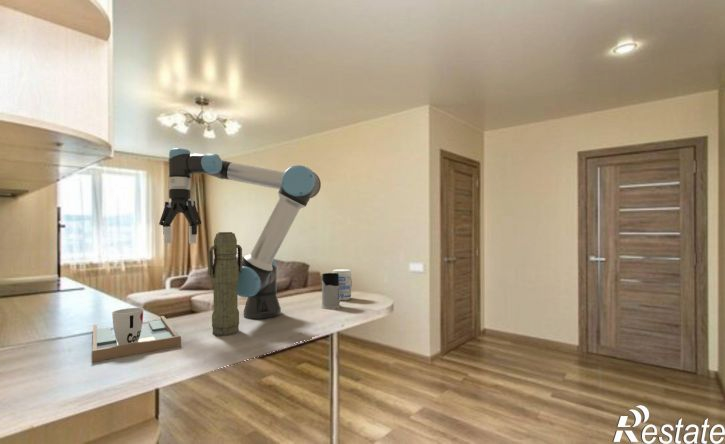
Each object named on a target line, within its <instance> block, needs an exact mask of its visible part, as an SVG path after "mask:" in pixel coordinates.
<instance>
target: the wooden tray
mask: <svg viewBox="0 0 725 444" xmlns="http://www.w3.org/2000/svg"><path fill="white" fill-rule="evenodd" d="M92 326H93V327H92V349H91V350H92V351H91V352H92V354H91V357H92V358H91V359H92V361H91V362H92V363H95V362H101V361H104V360H111V359H116V358H122V357H128V356H132V355H133V356H134V355H140V354H144V353H150V352H154V351H160V350H167V349H172V348H179V347H181V345H182V341H181V340H182V339H181V338H182V336H181V335H179V333H177V331H176V330H175V328H174V327H173V326H172V324H171V323H170V322H169V321H168V319H167V318H166V317H165V316H164V315H160V319H159V320H153V321H148V326H149V328H150V329H146V330H141V334H140V337H139V340H138V342H137V343H132V344H126V345H118V342H117V340H116V337H115V334H112V330H111V329H112V328H111V326H109V327H108V326H107V327H103V328H97V326H98V325H97V324H94V325H92Z"/></svg>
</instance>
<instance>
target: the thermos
mask: <svg viewBox="0 0 725 444" xmlns="http://www.w3.org/2000/svg"><path fill="white" fill-rule="evenodd" d="M237 242H238V240H237V237H236V234H235V232H232V231H220V232H219V231H218V233H215V236H214V239H213V245H212V246H210V247H209V248H208V249H207V275H208V276H209V277H211V283H212V285H213V310H212V314H211V328H212V332H211V333H212V335H213V336H216V337H226V336H227V337H228V336H233V335H236V334H237V333H239V332H240V329H239V325H240V311H239V308H238V295H237V284H238V281H239V275H240V274H241V273H242V261H243V248H242V246H241V244H238V243H237ZM213 256H214V257H213Z"/></svg>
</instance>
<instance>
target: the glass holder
mask: <svg viewBox="0 0 725 444" xmlns="http://www.w3.org/2000/svg"><path fill="white" fill-rule="evenodd" d="M346 277H347V276H346ZM346 277H344V278H346ZM321 278H322V279H321V306H320V307H321V309H324V310H335V309H339V308H341V305H340V303H341V301H342V300H341V299H342V298H344V297H345V296H346V295H347V294H348V293H349V291H350V289H351V290H352V286H353V281H352V280H353V279H352V277H351V278H350V277H348V278H350V279H351V287H350V289H349V291H348V293H347V294H346V295H345V296H343V297H342V298H341V299H340V300H339V286H342V285H343V280H344V278H343V280H342V285H339V274H338V273H333V272H328V273H327V272H326V273H322V277H321Z"/></svg>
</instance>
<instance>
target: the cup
mask: <svg viewBox="0 0 725 444" xmlns="http://www.w3.org/2000/svg"><path fill="white" fill-rule="evenodd" d="M111 315H112V325H113V326H112V327H113V332H114V335H115V337H116V340H117V342H118V345H126V344H132V343H137V342H138V340H139V337H140V334H141V331H142V327H143V322H144V308H142V307H128V308H122V309H118V310H114V311H112V312H111Z"/></svg>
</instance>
